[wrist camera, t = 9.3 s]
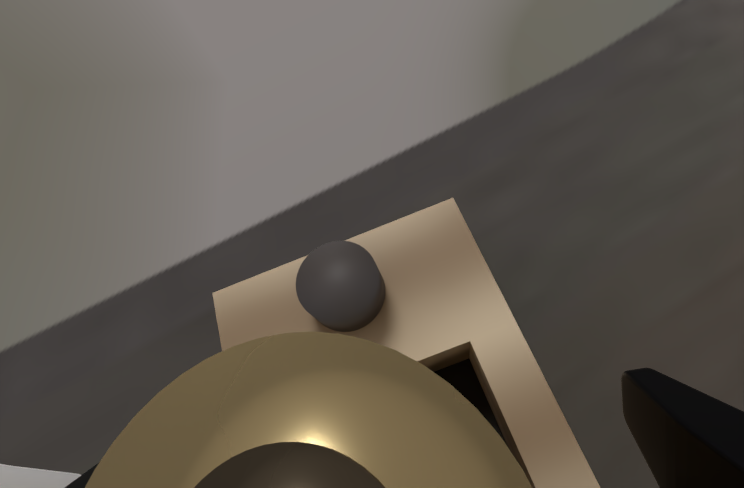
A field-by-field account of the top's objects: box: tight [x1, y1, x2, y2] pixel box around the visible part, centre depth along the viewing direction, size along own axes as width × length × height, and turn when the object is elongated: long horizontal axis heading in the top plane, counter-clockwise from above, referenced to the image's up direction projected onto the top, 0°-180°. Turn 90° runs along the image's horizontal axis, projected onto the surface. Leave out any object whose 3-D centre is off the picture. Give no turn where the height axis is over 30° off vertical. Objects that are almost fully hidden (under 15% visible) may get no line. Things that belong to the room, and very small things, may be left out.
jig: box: [213, 198, 600, 488], centre depth 13 cm, size 12×9×4 cm
